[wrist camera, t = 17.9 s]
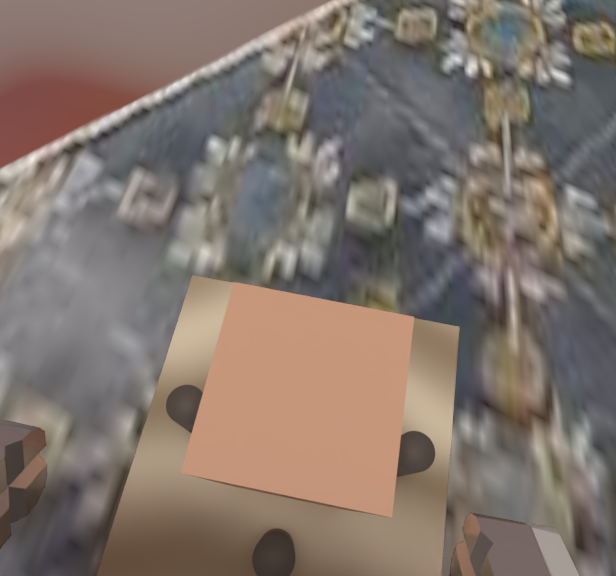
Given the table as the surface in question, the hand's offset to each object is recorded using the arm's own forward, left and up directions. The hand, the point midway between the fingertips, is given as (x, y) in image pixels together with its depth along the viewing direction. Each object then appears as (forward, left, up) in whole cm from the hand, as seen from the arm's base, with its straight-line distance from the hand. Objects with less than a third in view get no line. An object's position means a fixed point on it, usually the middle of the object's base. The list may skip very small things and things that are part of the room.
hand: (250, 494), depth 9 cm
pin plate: (+1, -2, -15) cm, 15 cm away
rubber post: (+1, -2, -13) cm, 13 cm away
